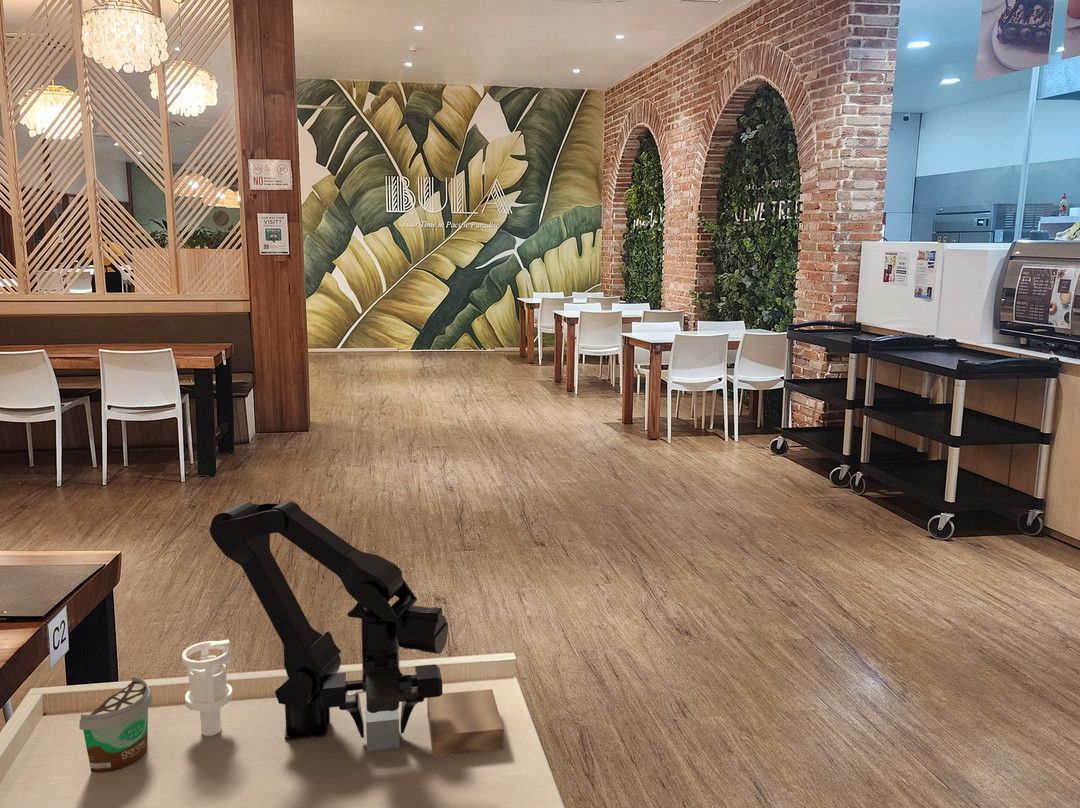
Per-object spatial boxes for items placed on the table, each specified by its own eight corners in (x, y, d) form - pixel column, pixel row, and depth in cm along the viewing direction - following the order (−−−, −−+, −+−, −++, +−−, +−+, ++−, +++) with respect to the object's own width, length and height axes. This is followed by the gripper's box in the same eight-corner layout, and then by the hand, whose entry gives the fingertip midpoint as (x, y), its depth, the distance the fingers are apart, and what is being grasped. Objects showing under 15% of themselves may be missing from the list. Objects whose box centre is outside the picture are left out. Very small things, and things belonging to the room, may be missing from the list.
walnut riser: (432, 758, 132) (432, 735, 131) (427, 716, 143) (427, 694, 143) (502, 751, 134) (503, 728, 133) (492, 710, 146) (492, 689, 145)
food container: (121, 784, 124) (115, 721, 122) (84, 778, 125) (77, 716, 123) (173, 736, 136) (168, 679, 134) (138, 731, 137) (134, 674, 135)
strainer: (237, 736, 136) (231, 649, 133) (189, 747, 133) (183, 658, 130) (231, 714, 142) (226, 631, 139) (186, 724, 139) (180, 639, 136)
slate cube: (367, 751, 133) (366, 722, 132) (366, 733, 138) (365, 705, 137) (399, 748, 134) (399, 719, 133) (397, 730, 139) (397, 702, 138)
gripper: (316, 674, 123) (320, 771, 126) (445, 663, 127) (446, 757, 130) (319, 639, 134) (322, 729, 137) (438, 629, 138) (439, 717, 141)
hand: (382, 734), depth 136 cm, fingers open, 6 cm apart
